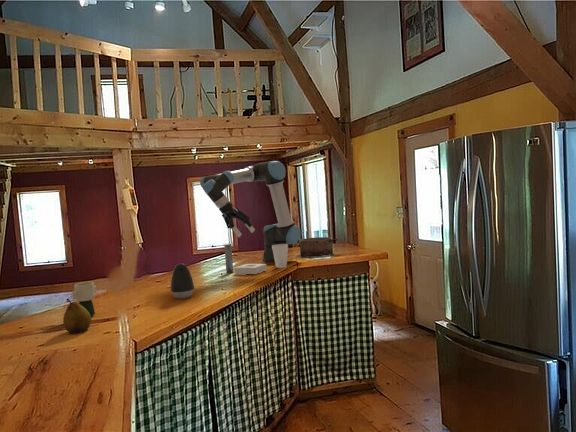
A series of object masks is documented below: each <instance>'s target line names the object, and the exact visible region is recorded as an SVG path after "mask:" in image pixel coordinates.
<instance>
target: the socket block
mask: <svg viewBox="0 0 576 432" xmlns="http://www.w3.org/2000/svg"><path fill="white" fill-rule="evenodd" d="M267 268H268V267H267V263H245V264H242V265H239V266H236V267H234V274H235V275H234V276H247V275H246V274H257V273H260V272H263V271H265V272H267V271H268V269H267ZM266 270H267V271H266ZM263 273H264V272H263ZM260 274H261V273H260ZM257 275H258V274H257Z"/></svg>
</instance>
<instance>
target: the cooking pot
mask: <svg viewBox="0 0 576 432" xmlns="http://www.w3.org/2000/svg"><path fill="white" fill-rule="evenodd" d="M337 241H338V238H334V239H333V238H332V237H328V236H325V237H324V236H320V237H306V238H300V239H299V240H298V242H296V243H295V244H299V252H300V253H299V254H300V256H301V257H305V256H316V257H322V256H321V255H326V256H330V255H329V254H331V255H333V254H334V251H333V250H334V247H333V246H334V245H333V242H337ZM332 253H333V254H332Z"/></svg>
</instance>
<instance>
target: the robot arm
mask: <svg viewBox="0 0 576 432" xmlns="http://www.w3.org/2000/svg"><path fill="white" fill-rule="evenodd" d="M286 173H287V171H286V167H285V166H284V164H283V163H282V162H281V161H279V160H272V161H271V160H270V161H265V162H258V163H256V164H252V165H250V166H249V165H248V166H246V167H244V168H243V169H237V170H232V171H230V170H225V171H223V172H222V173H216V174H213V175H206V176H203V177H201V178H200V181H199V185H200V187H201V188H202V189H203V191H204V193H205V194H206V195H207V196H208V198H209V199H210V200H211V201H212V202H213V204H214V205H215V206H216V207H217V209H218V210H219V211H220V213H221V216H222V218H223V221H224V222H225V226H227V227H226V228H227V229H231V230H232V231H233V233H234V234H235V235H236V236H237V238H241V236H242V235H243V234H242V233H241V231H240V230H239V228H238V227H237V226H236V225H235V223H234V219H238V220H239V221H240V222H242V223H244V225H245V227H246V228H247V229H248V231H249V232H250V233H251V234H253V233H254V232H255V231H256V229H255V228H254V227H253V226H254V225H252V223H251V222H250V221H249V220H250V219H251V218H250V217H249V216H248V215H247V214H245V213H244V212H242V210H240V209H239V208H238V207H235V208H233V207H234V205H233V203H232V202H231V201H230V200H229V198H228V197H227V196H226V194H225V193H224V192H223V191H224V190H225V189H227V188H228V187H229V186H230V185H236V184H238V183H239V184H240V183H243V182H248V183H250V182H265V185H266V186H267V187H269V191H270V196H271V201H272V203H273V208H274V211H275V215H276V220H277V223H274V224H270V225H269V224H268V225H264V227H263V241H264V243H263V244H264V251H263V255H262V260H263V261H265V262H275V260H274V255H273V250H272V245H277V244H288V245H295V244H297V243H296V242H298V240H300V239H301V228H300V227H299V226H298V225H296V224H295V223H296V222H295V221H294V220H293V219H292V218H291V217H292V216H291V213H290V209H289V205H288V202H287V201H288V200H287V198H286V197H287V196H286V194H285V193H286V192H285V188H284V184H283V183H284V182H285V179H284V178H285V177H286V175H287V174H286Z"/></svg>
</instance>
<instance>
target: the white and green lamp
mask: <svg viewBox="0 0 576 432" xmlns="http://www.w3.org/2000/svg"><path fill="white" fill-rule="evenodd" d="M73 289H74V290H73V291H72V292H71V295H72V300H75V302H78V303H79V304H80V305H82V306H83V307H84V308H85V309H86V310H87V311H88V312H89V313H90V315H91V317H92V316H94V315H95V314H96V312H95V311H96V310H95V307H94V302H93V300H94V299H95V298H96V297H95V296H96V294H97V286H96V285H95V284H94V282H93V281H91V282H89V281H86V282H85V281H84V282H79V283H75V284H74V286H73Z"/></svg>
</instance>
